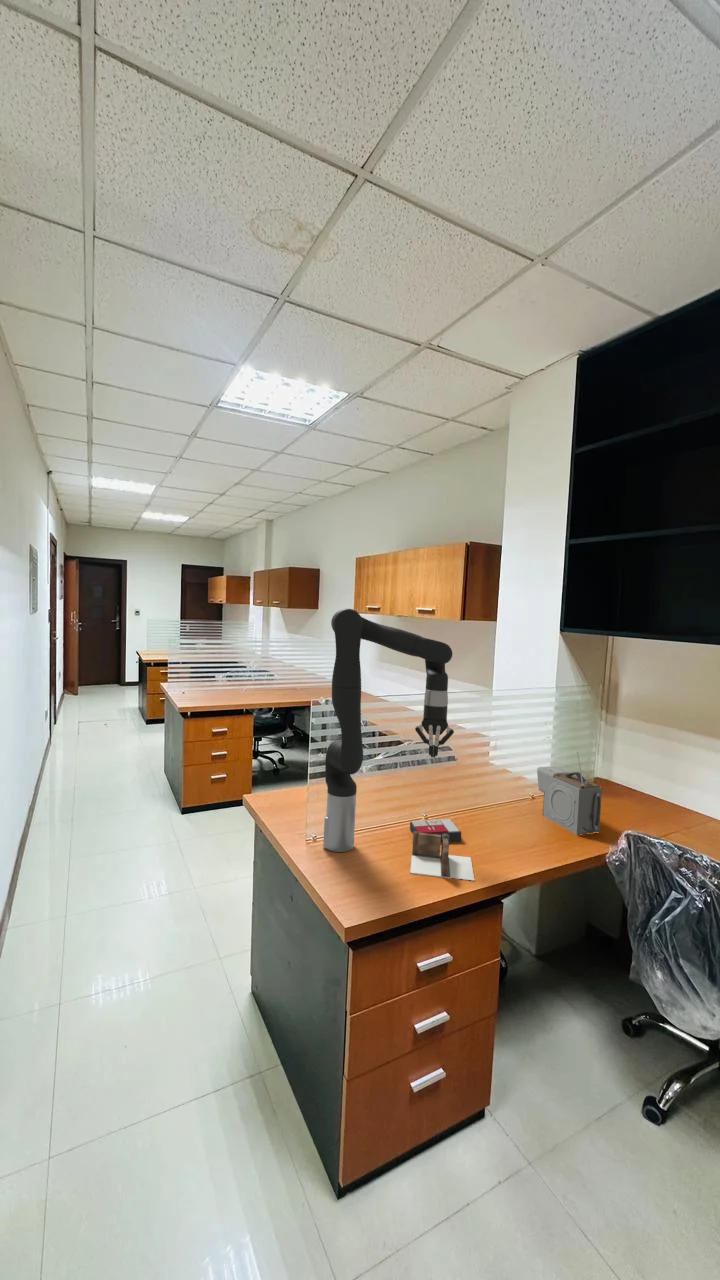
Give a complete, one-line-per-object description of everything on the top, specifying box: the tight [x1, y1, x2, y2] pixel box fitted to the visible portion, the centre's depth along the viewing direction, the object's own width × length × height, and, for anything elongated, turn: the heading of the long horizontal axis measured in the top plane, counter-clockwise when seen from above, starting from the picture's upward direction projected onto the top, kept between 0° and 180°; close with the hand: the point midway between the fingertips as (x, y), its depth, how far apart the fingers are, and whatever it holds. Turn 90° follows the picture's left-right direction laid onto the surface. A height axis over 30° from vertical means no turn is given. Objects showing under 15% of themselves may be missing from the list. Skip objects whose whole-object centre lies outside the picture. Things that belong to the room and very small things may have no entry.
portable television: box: [536, 751, 603, 836], centre depth 181 cm, size 12×24×30 cm, turn 18°
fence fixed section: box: [411, 831, 450, 858], centre depth 148 cm, size 11×2×7 cm, turn 81°
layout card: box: [409, 853, 476, 882], centre depth 143 cm, size 18×14×1 cm
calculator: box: [409, 818, 462, 843], centre depth 164 cm, size 11×4×15 cm
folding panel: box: [441, 838, 450, 876], centre depth 141 cm, size 11×2×6 cm, turn 169°
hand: (433, 756), depth 156 cm, fingers closed
